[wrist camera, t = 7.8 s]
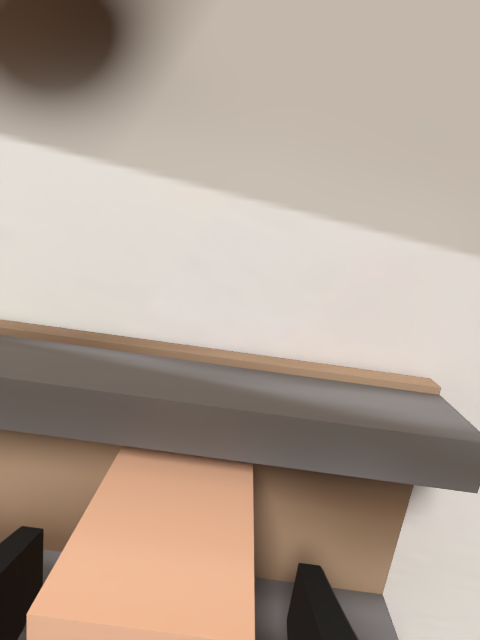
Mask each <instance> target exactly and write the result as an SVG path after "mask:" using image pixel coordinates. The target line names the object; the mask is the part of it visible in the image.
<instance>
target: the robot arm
mask: <svg viewBox="0 0 480 640" xmlns="http://www.w3.org/2000/svg"><path fill="white" fill-rule="evenodd" d="M43 538H44V529H42V528H35V527H27V526H21V527H20V528H18V529H17V530H16V531H14V532H13V533H12V534H11V535H9V536H8V537H7V538H6V539H4V540H3V541H2V542H1V543H0V640H18V638H19V636H20V634H21V633H22V631H23V629H24V627H25V625H26V623H27V613H28V611H29V609H30V607H31V606H32V604H33V602H34V600H35V599H36V597H37V595H38V593H39V591H40V590H41V588H42V586H43ZM287 640H359V639H358V638H357V636H356V634H355V632H354V630H353V629H352V627H351V625H350V623H349V621H348V619H347V617H346V615H345V613H344V611H343V609H342V607H341V606H340V604H339V602H338V600H337V598H336V596H335V594H334V591H333V589H332V587H331V585H330V583H329V581H328V579H327V577H326V575H325V572H324V570H323V569H322V567H321V566H320V565H313V564H305V563H298V568H297V573H296V578H295V582H294V587H293V592H292V596H291V601H290V606H289V611H288V615H287Z"/></svg>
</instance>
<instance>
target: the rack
mask: <svg viewBox="0 0 480 640" xmlns="http://www.w3.org/2000/svg"><path fill="white" fill-rule="evenodd" d="M440 390H441V387H440V386H438V385H437V384H436V383H435V382H434V381H433V380H432V379H430V378H423V377H416V376H408V375H401V374H394V373H386V372H379V371H372V370H365V369H357V368H350V367H343V366H335V365H328V364H321V363H314V362H306V361H299V360H292V359H284V358H277V357H270V356H262V355H255V354H248V353H241V352H233V351H226V350H219V349H211V348H204V347H197V346H190V345H182V344H175V343H168V342H160V341H153V340H146V339H138V338H131V337H124V336H117V335H109V334H102V333H95V332H87V331H80V330H73V329H66V328H58V327H51V326H44V325H36V324H29V323H22V322H15V321H7V320H0V543H1V542H2V541H3V540H4V539H6V538H7V537H8V536H9V535H11V534H12V533H13V532H14V531H16V530H17V529H18V528H20V527H21V526H27V527H35V528H42V529H44V538H43V584H44V583H45V581H46V579H47V577H48V576H49V574H50V572H51V570H52V569H53V567H54V565H55V563H56V562H57V560H58V558H59V556H60V555H61V553H62V551H63V549H64V548H65V546H66V544H67V542H68V541H69V539H70V537H71V535H72V534H73V532H74V530H75V528H76V526H77V525H78V523H79V521H80V519H81V518H82V516H83V514H84V512H85V511H86V509H87V507H88V505H89V504H90V502H91V500H92V498H93V497H94V495H95V493H96V491H97V490H98V488H99V486H100V484H101V483H102V481H103V479H104V477H105V476H106V474H107V472H108V470H109V469H110V467H111V465H112V463H113V462H114V460H115V458H116V456H117V454H118V453H119V451H120V449H121V447H122V446H129V447H137V448H144V449H151V450H159V451H166V452H174V453H181V454H189V455H196V456H203V457H211V458H218V459H226V460H233V461H241V462H248V463H253V512H254V595H255V640H287V615H288V611H289V606H290V601H291V596H292V592H293V587H294V582H295V578H296V573H297V568H298V563H305V564H313V565H320V566H321V567H322V569H323V570H324V572H325V575H326V577H327V579H328V581H329V583H330V585H331V587H332V589H333V591H334V594H335V596H336V598H337V600H338V602H339V604H340V606H341V607H342V609H343V611H344V613H345V615H346V617H347V619H348V621H349V623H350V625H351V627H352V629H353V630H354V632H355V634H356V636H357V638H358V639H359V640H398V637H397V634H396V631H395V629H394V626H393V623H392V620H391V617H390V614H389V612H388V609H387V606H386V603H385V600H384V598H383V595H382V594H383V590H384V587H385V583H386V580H387V576H388V573H389V569H390V566H391V562H392V559H393V555H394V552H395V548H396V545H397V541H398V538H399V534H400V531H401V527H402V524H403V520H404V517H405V513H406V510H407V506H408V503H409V499H410V496H411V492H412V489H413V485H419V486H426V487H434V488H441V489H449V490H456V491H463V492H471V493H477V492H478V489H479V486H480V432H479V431H478V430H477V429H476V428H475V427H474V426H473V425H472V424H471V423H470V422H469V421H467V420H466V419H465V418H464V417H463V416H462V415H461V414H460V413H459V412H458V411H457V410H455V409H454V408H453V407H452V406H451V405H450V404H449V403H448V402H447V401H446V400H444V399H443V398H442V397H441V396H440V395H439V394H440ZM18 640H27V623H26V625H25V627H24V629H23V631H22V633H21V634H20V636H19V638H18Z"/></svg>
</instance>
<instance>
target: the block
mask: <svg viewBox="0 0 480 640" xmlns="http://www.w3.org/2000/svg"><path fill="white" fill-rule="evenodd" d="M27 640H255V595H254V512H253V463H248V462H241V461H233V460H226V459H218V458H211V457H203V456H196V455H189V454H181V453H174V452H166V451H159V450H151V449H144V448H137V447H129V446H122V447H121V449H120V451H119V453H118V454H117V456H116V458H115V460H114V462H113V463H112V465H111V467H110V469H109V470H108V472H107V474H106V476H105V477H104V479H103V481H102V483H101V484H100V486H99V488H98V490H97V491H96V493H95V495H94V497H93V498H92V500H91V502H90V504H89V505H88V507H87V509H86V511H85V512H84V514H83V516H82V518H81V519H80V521H79V523H78V525H77V526H76V528H75V530H74V532H73V534H72V535H71V537H70V539H69V541H68V542H67V544H66V546H65V548H64V549H63V551H62V553H61V555H60V556H59V558H58V560H57V562H56V563H55V565H54V567H53V569H52V570H51V572H50V574H49V576H48V577H47V579H46V581H45V583H44V584H43V586H42V588H41V590H40V591H39V593H38V595H37V597H36V599H35V600H34V602H33V604H32V606H31V607H30V609H29V611H28V613H27Z"/></svg>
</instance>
